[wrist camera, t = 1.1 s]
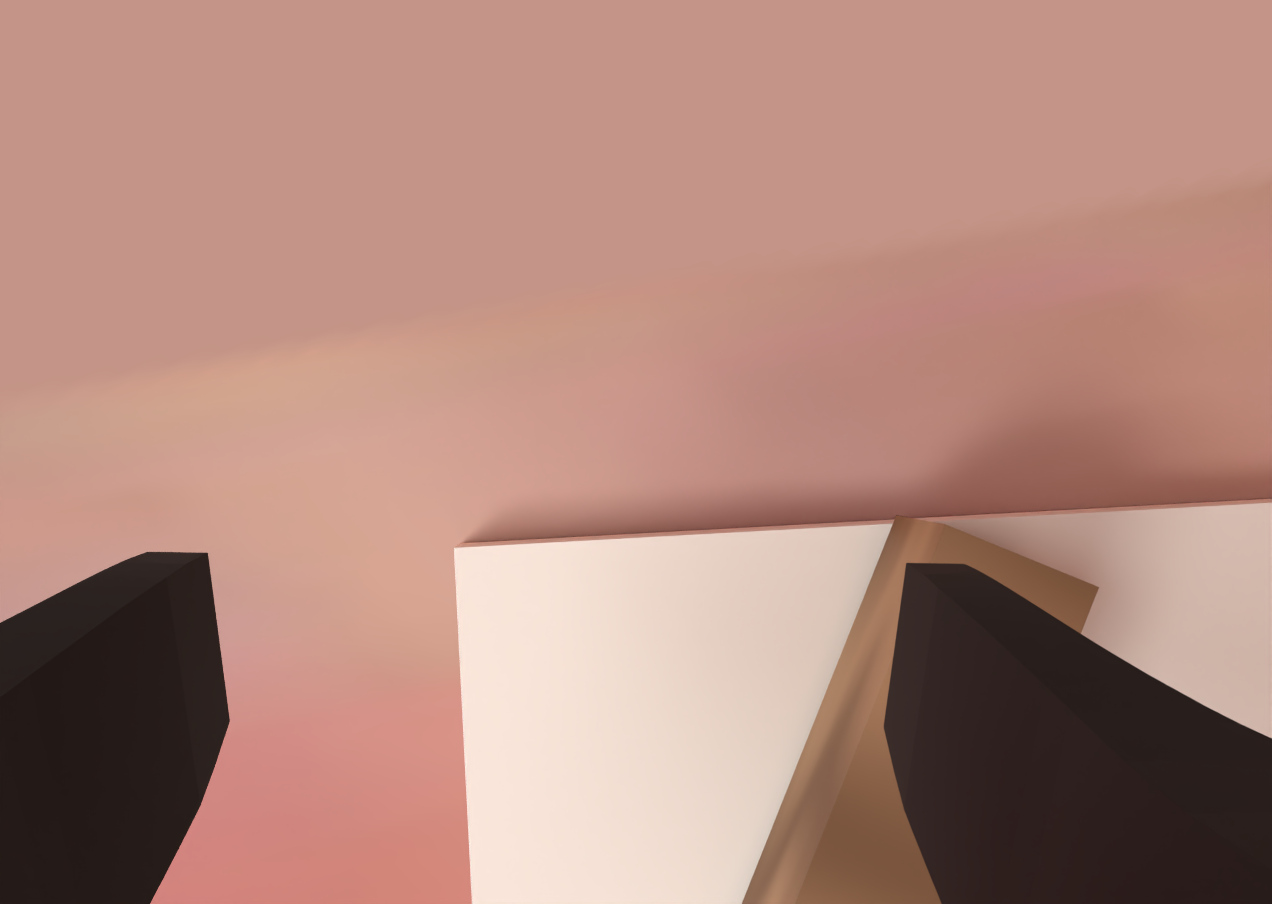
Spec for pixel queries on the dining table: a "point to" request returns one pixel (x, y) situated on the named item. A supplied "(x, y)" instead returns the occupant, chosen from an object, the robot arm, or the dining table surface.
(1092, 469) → the dining table surface
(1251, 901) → the robot arm
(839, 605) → the white plate
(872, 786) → the walnut link
